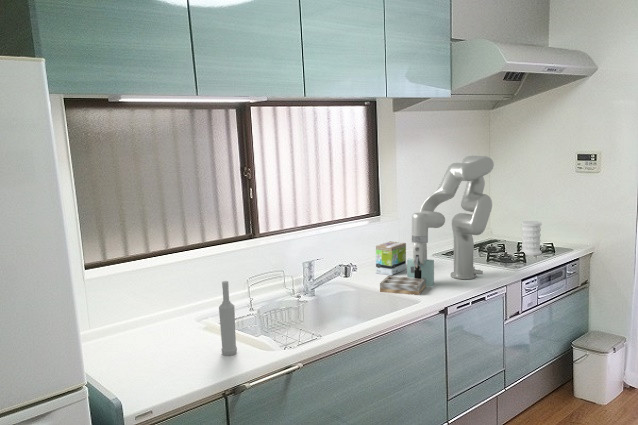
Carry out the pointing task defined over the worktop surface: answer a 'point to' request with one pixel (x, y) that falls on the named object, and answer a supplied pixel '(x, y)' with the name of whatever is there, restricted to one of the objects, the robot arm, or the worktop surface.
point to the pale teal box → (425, 273)
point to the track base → (402, 285)
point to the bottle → (227, 323)
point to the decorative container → (531, 237)
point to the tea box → (390, 258)
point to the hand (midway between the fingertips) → (419, 276)
